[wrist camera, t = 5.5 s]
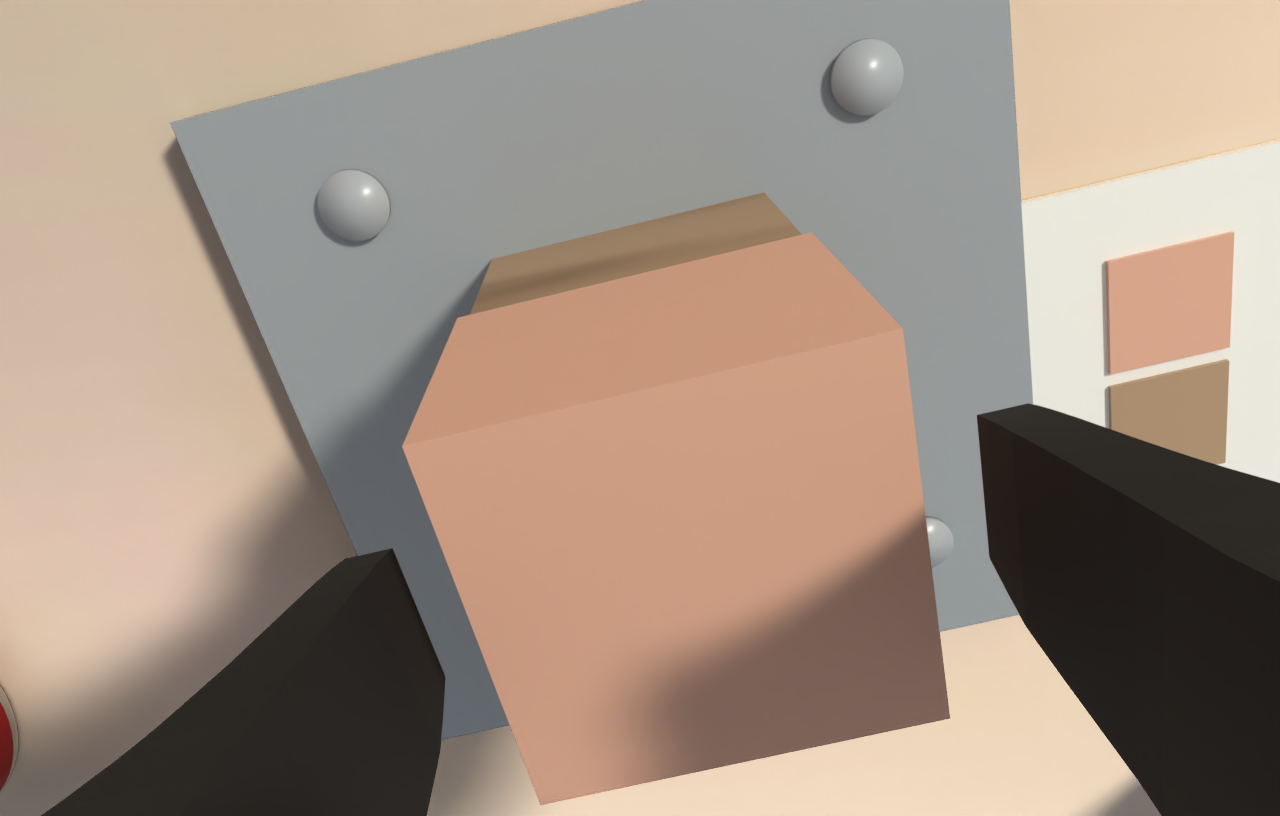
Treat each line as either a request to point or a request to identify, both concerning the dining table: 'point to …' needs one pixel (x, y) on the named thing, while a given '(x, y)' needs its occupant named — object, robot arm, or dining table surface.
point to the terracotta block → (686, 517)
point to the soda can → (7, 739)
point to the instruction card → (1164, 306)
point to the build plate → (621, 196)
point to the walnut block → (632, 250)
